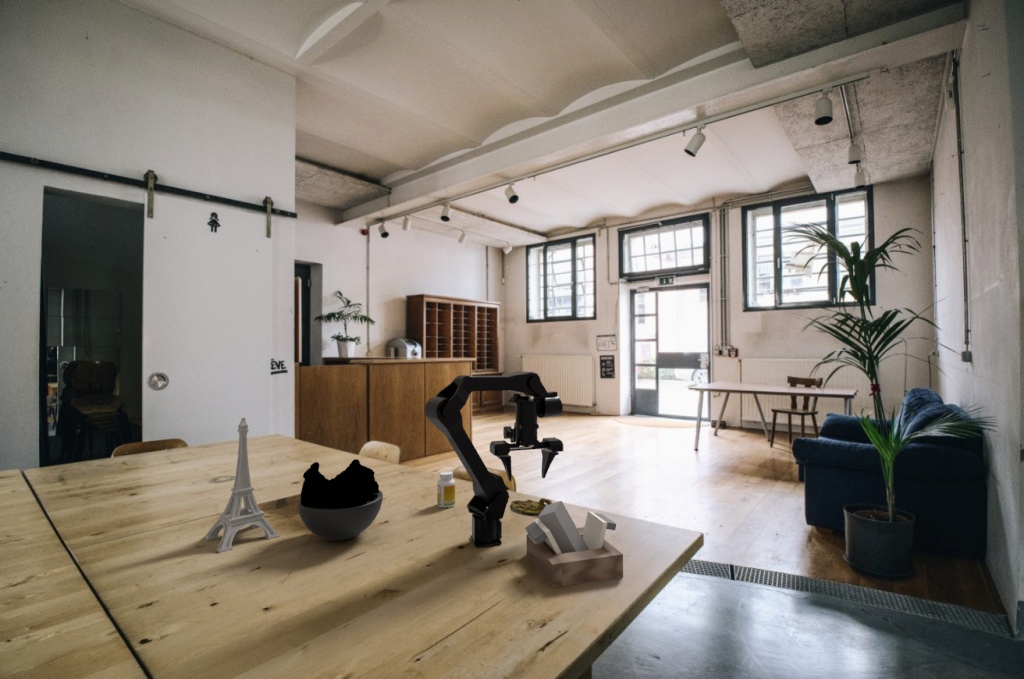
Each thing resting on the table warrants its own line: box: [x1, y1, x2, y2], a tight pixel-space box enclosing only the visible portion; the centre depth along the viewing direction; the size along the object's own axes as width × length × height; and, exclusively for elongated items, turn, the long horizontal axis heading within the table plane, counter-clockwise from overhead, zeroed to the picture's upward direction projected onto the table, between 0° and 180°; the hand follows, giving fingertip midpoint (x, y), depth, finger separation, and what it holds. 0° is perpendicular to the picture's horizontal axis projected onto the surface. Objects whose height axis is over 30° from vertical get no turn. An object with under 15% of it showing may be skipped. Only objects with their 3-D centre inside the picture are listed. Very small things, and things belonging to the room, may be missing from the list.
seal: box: [510, 498, 553, 517], centre depth 138 cm, size 9×5×15 cm
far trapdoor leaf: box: [582, 511, 617, 550], centre depth 104 cm, size 9×7×4 cm
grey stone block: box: [537, 500, 588, 554], centre depth 103 cm, size 4×4×12 cm
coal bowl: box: [297, 458, 384, 542], centre depth 118 cm, size 20×20×19 cm
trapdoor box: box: [526, 526, 624, 588], centre depth 102 cm, size 16×16×4 cm
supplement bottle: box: [436, 471, 456, 509], centre depth 142 cm, size 5×5×10 cm
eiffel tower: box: [203, 417, 281, 554], centre depth 119 cm, size 13×13×30 cm
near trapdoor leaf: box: [524, 517, 562, 555], centre depth 100 cm, size 9×7×4 cm
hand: (526, 479), depth 123 cm, fingers open, 9 cm apart
